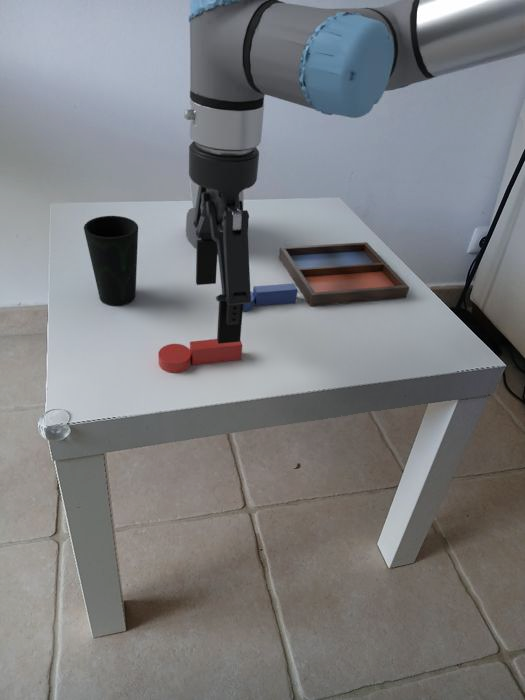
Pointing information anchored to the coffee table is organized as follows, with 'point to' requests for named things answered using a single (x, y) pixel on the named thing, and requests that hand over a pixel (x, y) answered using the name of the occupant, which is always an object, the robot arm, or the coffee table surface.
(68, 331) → the coffee table surface
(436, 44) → the robot arm
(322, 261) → the divided sorting tray
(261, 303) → the blue disc-ended stick
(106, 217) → the cup
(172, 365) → the red spoon
